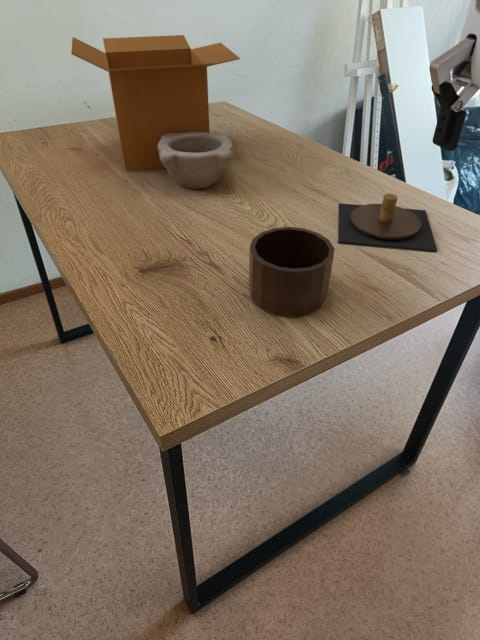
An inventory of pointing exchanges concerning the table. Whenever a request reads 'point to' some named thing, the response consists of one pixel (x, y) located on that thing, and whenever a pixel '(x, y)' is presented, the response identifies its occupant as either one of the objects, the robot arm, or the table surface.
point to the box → (155, 89)
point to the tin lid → (385, 220)
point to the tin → (290, 271)
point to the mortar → (195, 157)
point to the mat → (356, 237)
